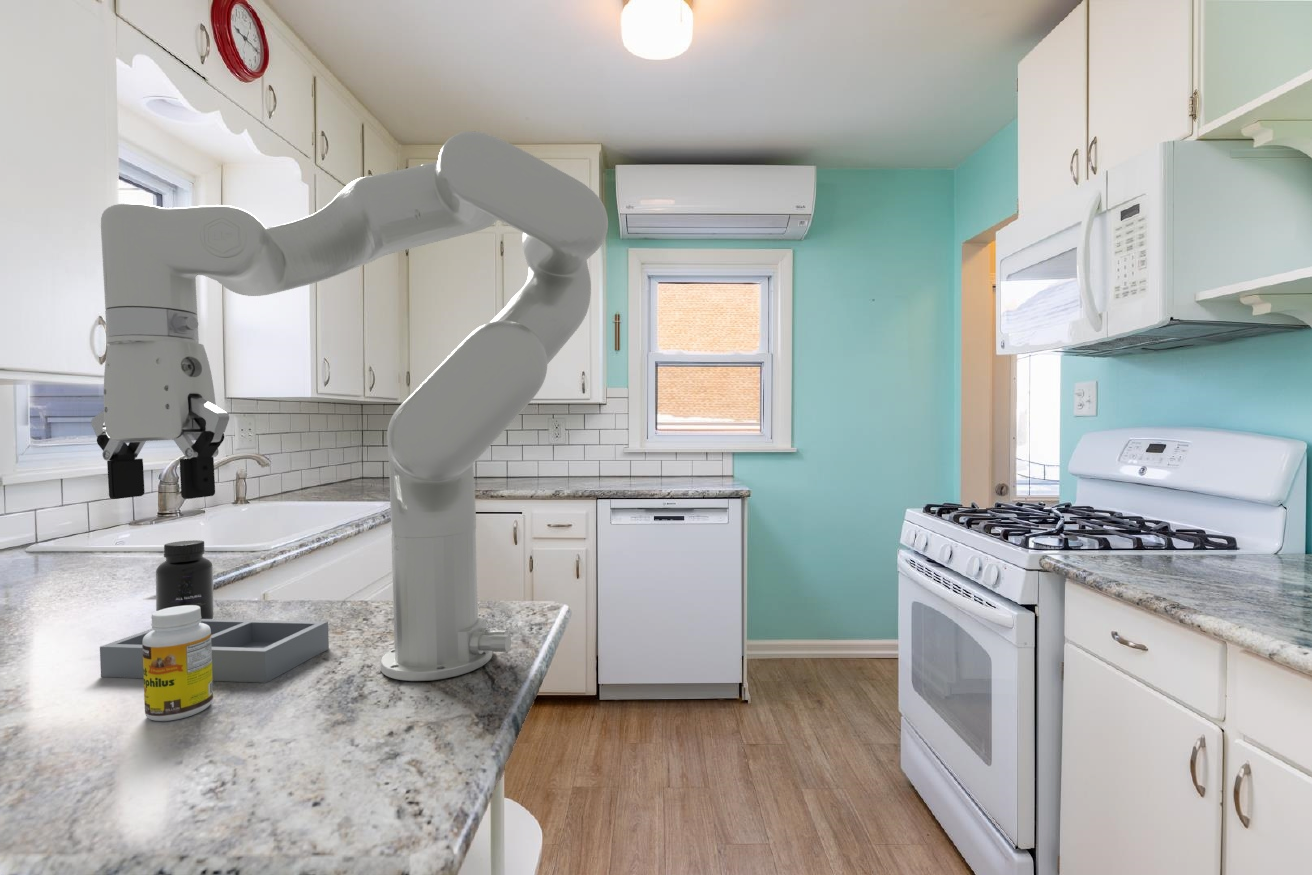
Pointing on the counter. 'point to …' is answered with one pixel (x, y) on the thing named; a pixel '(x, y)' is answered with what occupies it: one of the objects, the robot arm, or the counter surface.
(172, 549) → the supplement bottle
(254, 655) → the divided tray
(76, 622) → the counter surface
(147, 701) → the supplement bottle
